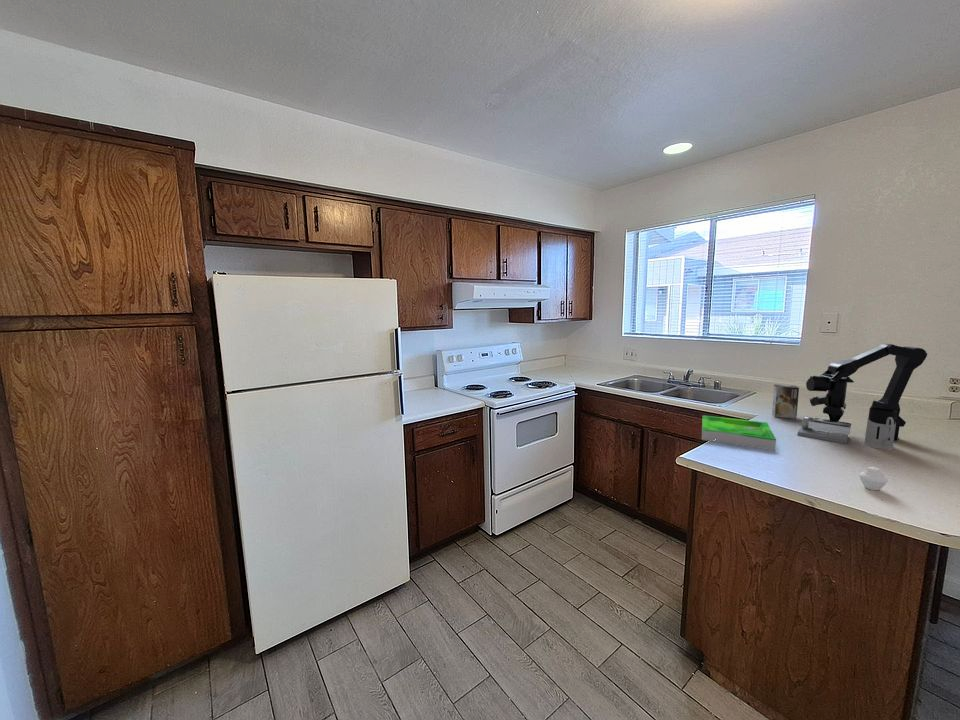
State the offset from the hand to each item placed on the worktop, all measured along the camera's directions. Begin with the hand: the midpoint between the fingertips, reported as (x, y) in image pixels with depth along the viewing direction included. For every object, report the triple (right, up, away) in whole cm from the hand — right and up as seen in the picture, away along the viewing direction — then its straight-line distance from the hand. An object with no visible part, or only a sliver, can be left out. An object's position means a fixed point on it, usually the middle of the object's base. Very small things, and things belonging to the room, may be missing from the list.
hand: (832, 426), depth 164 cm
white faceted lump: (-33, -11, -48) cm, 60 cm away
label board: (-6, -4, -1) cm, 7 cm away
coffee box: (+2, 0, +29) cm, 29 cm away
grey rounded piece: (+5, -6, -15) cm, 17 cm away
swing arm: (-5, -2, -1) cm, 5 cm away
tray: (-43, -5, +1) cm, 43 cm away
